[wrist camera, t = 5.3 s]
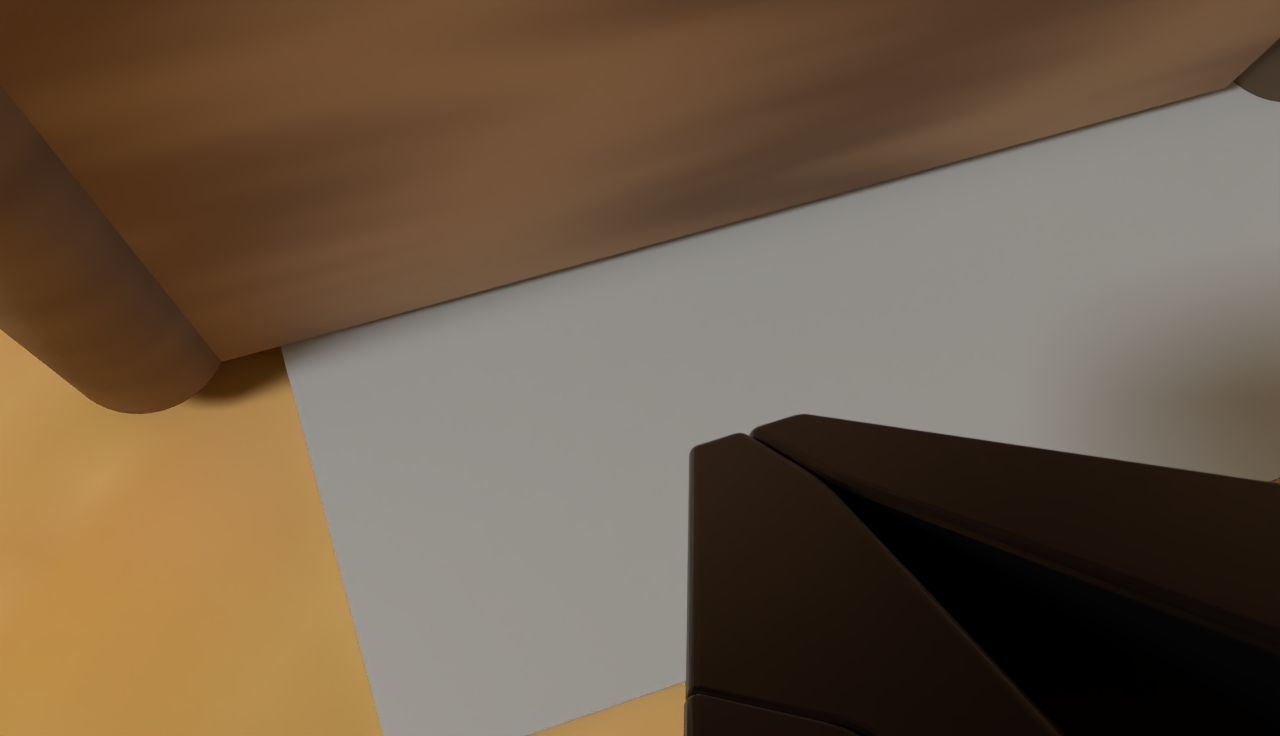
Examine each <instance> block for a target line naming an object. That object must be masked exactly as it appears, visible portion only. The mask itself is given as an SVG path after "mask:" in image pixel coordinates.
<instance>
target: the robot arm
mask: <svg viewBox="0 0 1280 736" xmlns="http://www.w3.org/2000/svg"><path fill="white" fill-rule="evenodd" d="M684 736H1280V483H1274V482H1268V481H1261V480H1254V479H1247V478H1240V477H1234V476H1227V475H1220V474H1213V473H1206V472H1199V471H1193V470H1186V469H1179V468H1172V467H1165V466H1158V465H1152V464H1145V463H1138V462H1131V461H1124V460H1118V459H1111V458H1104V457H1097V456H1090V455H1083V454H1077V453H1070V452H1063V451H1056V450H1049V449H1043V448H1036V447H1029V446H1022V445H1015V444H1008V443H1002V442H995V441H988V440H981V439H974V438H968V437H961V436H954V435H947V434H940V433H933V432H927V431H920V430H913V429H906V428H899V427H893V426H886V425H879V424H872V423H865V422H858V421H852V420H845V419H838V418H831V417H824V416H818V415H811V414H798V415H793V416H790V417H787V418H783V419H780V420H777V421H774V422H770V423H767V424H764V425H761V426H758V427H756V428H754V429H753V430H752V431H751V432H750V434H749V435H747V434H745V433H735V434H732V435H728V436H725V437H722V438H719V439H715V440H712V441H709V442H706V443H703V444H699V445H696V446H695V447H693V448H692V449H691V451H690V454H689V493H688V563H687V634H686V702H685V705H684Z"/></svg>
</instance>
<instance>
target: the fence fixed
mask: <svg viewBox="0 0 1280 736" xmlns="http://www.w3.org/2000/svg"><path fill="white" fill-rule="evenodd" d="M1233 82H1235V83H1236V84H1237V85H1238V86H1240V87H1241V88H1243V89H1244V90H1246V91H1247V92H1249V93H1251V94H1253V95H1255V96H1258V97H1260V98H1263V99H1266V100H1270V101H1275V102H1280V38H1279V39H1278V40H1277V41H1276V42H1275V43H1274V44H1273V45H1272V46H1271V47H1269V48H1268V49H1267V50H1266V51H1265V52H1264V53H1263V54H1262V55H1261V56H1260V57H1259V58H1258V59H1256V60H1255V61H1254V62H1253V63H1252V64H1251V65H1250V66H1249V67H1248V68H1247V69H1246V70H1245V71H1243V72H1242V73H1241V74H1240V75H1239V76H1238V77H1237V78H1236V79H1235V80H1234V81H1233Z"/></svg>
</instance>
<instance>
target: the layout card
mask: <svg viewBox="0 0 1280 736" xmlns="http://www.w3.org/2000/svg"><path fill="white" fill-rule="evenodd" d="M280 347H281V351H282V355H283V358H284V362H285V366H286V370H287V374H288V377H289V381H290V385H291V389H292V393H293V396H294V400H295V404H296V408H297V411H298V415H299V419H300V423H301V427H302V430H303V434H304V438H305V442H306V446H307V449H308V453H309V457H310V461H311V465H312V468H313V472H314V476H315V480H316V484H317V487H318V491H319V495H320V499H321V503H322V506H323V510H324V514H325V518H326V522H327V525H328V529H329V533H330V537H331V541H332V544H333V548H334V552H335V556H336V559H337V563H338V567H339V571H340V575H341V578H342V582H343V586H344V590H345V594H346V597H347V601H348V605H349V609H350V613H351V616H352V620H353V624H354V628H355V632H356V635H357V639H358V643H359V647H360V651H361V654H362V658H363V662H364V666H365V670H366V673H367V677H368V681H369V685H370V689H371V692H372V696H373V700H374V704H375V707H376V711H377V715H378V719H379V723H380V726H381V730H382V734H383V736H526V735H529V734H532V733H535V732H538V731H541V730H544V729H547V728H550V727H553V726H556V725H559V724H562V723H565V722H567V721H570V720H573V719H576V718H579V717H582V716H585V715H588V714H591V713H594V712H597V711H600V710H603V709H605V708H608V707H611V706H614V705H617V704H620V703H623V702H626V701H629V700H632V699H635V698H638V697H641V696H643V695H646V694H649V693H652V692H655V691H658V690H661V689H664V688H667V687H670V686H673V685H676V684H679V683H681V682H684V681H686V634H687V563H688V493H689V454H690V451H691V449H692V448H693V447H695V446H696V445H699V444H703V443H706V442H709V441H712V440H715V439H719V438H722V437H725V436H728V435H732V434H735V433H745V434H747V435H749V434H750V432H751V431H752V430H753V429H754V428H756V427H758V426H761V425H764V424H767V423H770V422H774V421H777V420H780V419H783V418H787V417H790V416H793V415H798V414H811V415H818V416H824V417H831V418H838V419H845V420H852V421H858V422H865V423H872V424H879V425H886V426H893V427H899V428H906V429H913V430H920V431H927V432H933V433H940V434H947V435H954V436H961V437H968V438H974V439H981V440H988V441H995V442H1002V443H1008V444H1015V445H1022V446H1029V447H1036V448H1043V449H1049V450H1056V451H1063V452H1070V453H1077V454H1083V455H1090V456H1097V457H1104V458H1111V459H1118V460H1124V461H1131V462H1138V463H1145V464H1152V465H1158V466H1165V467H1172V468H1179V469H1186V470H1193V471H1199V472H1206V473H1213V474H1220V475H1227V476H1234V477H1240V478H1247V479H1254V480H1261V481H1268V482H1269V481H1272V480H1275V479H1278V478H1280V102H1275V101H1270V100H1266V99H1263V98H1260V97H1258V96H1255V95H1253V94H1251V93H1249V92H1247V91H1246V90H1244V89H1243V88H1241V87H1240V86H1238V85H1237V84H1236V83H1235V82H1232V83H1230V84H1229V85H1228V86H1227V87H1226V88H1222V89H1218V90H1215V91H1211V92H1208V93H1204V94H1200V95H1197V96H1193V97H1189V98H1186V99H1182V100H1178V101H1175V102H1171V103H1167V104H1164V105H1160V106H1156V107H1153V108H1149V109H1145V110H1142V111H1138V112H1134V113H1131V114H1127V115H1123V116H1120V117H1116V118H1112V119H1109V120H1105V121H1101V122H1098V123H1094V124H1091V125H1087V126H1083V127H1080V128H1076V129H1072V130H1069V131H1065V132H1061V133H1058V134H1054V135H1050V136H1047V137H1043V138H1039V139H1036V140H1032V141H1028V142H1025V143H1021V144H1017V145H1014V146H1010V147H1006V148H1003V149H999V150H995V151H992V152H988V153H984V154H981V155H977V156H973V157H970V158H966V159H963V160H959V161H955V162H952V163H948V164H944V165H941V166H937V167H933V168H930V169H926V170H922V171H919V172H915V173H911V174H908V175H904V176H900V177H897V178H893V179H889V180H886V181H882V182H878V183H875V184H871V185H867V186H864V187H860V188H856V189H853V190H849V191H846V192H842V193H838V194H835V195H831V196H827V197H824V198H820V199H816V200H813V201H809V202H805V203H802V204H798V205H794V206H791V207H787V208H783V209H780V210H776V211H772V212H769V213H765V214H761V215H758V216H754V217H750V218H747V219H743V220H739V221H736V222H732V223H728V224H725V225H721V226H718V227H714V228H710V229H707V230H703V231H699V232H696V233H692V234H688V235H685V236H681V237H677V238H674V239H670V240H666V241H663V242H659V243H655V244H652V245H648V246H644V247H641V248H637V249H633V250H630V251H626V252H622V253H619V254H615V255H611V256H608V257H604V258H601V259H597V260H593V261H590V262H586V263H582V264H579V265H575V266H571V267H568V268H564V269H560V270H557V271H553V272H549V273H546V274H542V275H538V276H535V277H531V278H527V279H524V280H520V281H516V282H513V283H509V284H505V285H502V286H498V287H494V288H491V289H487V290H483V291H480V292H476V293H473V294H469V295H465V296H462V297H458V298H454V299H451V300H447V301H443V302H440V303H436V304H432V305H429V306H425V307H421V308H418V309H414V310H410V311H407V312H403V313H399V314H396V315H392V316H388V317H385V318H381V319H377V320H374V321H370V322H366V323H363V324H359V325H356V326H352V327H348V328H345V329H341V330H337V331H334V332H330V333H326V334H323V335H319V336H315V337H312V338H308V339H304V340H301V341H297V342H293V343H290V344H286V345H282V346H280Z"/></svg>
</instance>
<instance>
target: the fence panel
mask: <svg viewBox="0 0 1280 736" xmlns="http://www.w3.org/2000/svg"><path fill="white" fill-rule="evenodd" d="M1279 38H1280V0H0V329H1V330H2V331H4V332H5V333H6V334H7V335H9V336H10V337H11V338H12V339H14V340H15V341H16V342H18V343H19V344H20V345H21V346H23V347H24V348H25V349H27V350H28V351H29V352H30V353H32V354H33V355H34V356H35V357H37V358H38V359H39V360H41V361H42V362H43V363H44V364H46V365H47V366H48V367H49V368H51V369H52V370H53V371H55V372H56V373H57V374H58V375H60V376H61V377H62V378H63V379H65V380H66V381H67V382H69V383H70V384H71V385H72V386H74V387H75V388H76V389H77V390H79V391H80V392H81V393H83V394H84V395H85V396H86V397H88V398H89V399H90V400H92V401H94V402H95V403H97V404H99V405H101V406H103V407H105V408H108V409H111V410H114V411H118V412H123V413H130V414H144V413H153V412H158V411H162V410H166V409H168V408H171V407H174V406H176V405H178V404H180V403H182V402H184V401H186V400H188V399H189V398H191V397H192V396H194V395H195V394H196V393H197V392H199V391H200V390H201V389H202V388H203V387H204V386H205V385H206V384H207V383H208V382H209V381H210V380H211V378H212V377H213V376H214V374H215V373H216V371H217V370H218V368H219V366H220V364H221V362H224V361H228V360H231V359H235V358H238V357H242V356H246V355H249V354H253V353H257V352H260V351H264V350H268V349H271V348H275V347H279V346H282V345H286V344H290V343H293V342H297V341H301V340H304V339H308V338H312V337H315V336H319V335H323V334H326V333H330V332H334V331H337V330H341V329H345V328H348V327H352V326H356V325H359V324H363V323H366V322H370V321H374V320H377V319H381V318H385V317H388V316H392V315H396V314H399V313H403V312H407V311H410V310H414V309H418V308H421V307H425V306H429V305H432V304H436V303H440V302H443V301H447V300H451V299H454V298H458V297H462V296H465V295H469V294H473V293H476V292H480V291H483V290H487V289H491V288H494V287H498V286H502V285H505V284H509V283H513V282H516V281H520V280H524V279H527V278H531V277H535V276H538V275H542V274H546V273H549V272H553V271H557V270H560V269H564V268H568V267H571V266H575V265H579V264H582V263H586V262H590V261H593V260H597V259H601V258H604V257H608V256H611V255H615V254H619V253H622V252H626V251H630V250H633V249H637V248H641V247H644V246H648V245H652V244H655V243H659V242H663V241H666V240H670V239H674V238H677V237H681V236H685V235H688V234H692V233H696V232H699V231H703V230H707V229H710V228H714V227H718V226H721V225H725V224H728V223H732V222H736V221H739V220H743V219H747V218H750V217H754V216H758V215H761V214H765V213H769V212H772V211H776V210H780V209H783V208H787V207H791V206H794V205H798V204H802V203H805V202H809V201H813V200H816V199H820V198H824V197H827V196H831V195H835V194H838V193H842V192H846V191H849V190H853V189H856V188H860V187H864V186H867V185H871V184H875V183H878V182H882V181H886V180H889V179H893V178H897V177H900V176H904V175H908V174H911V173H915V172H919V171H922V170H926V169H930V168H933V167H937V166H941V165H944V164H948V163H952V162H955V161H959V160H963V159H966V158H970V157H973V156H977V155H981V154H984V153H988V152H992V151H995V150H999V149H1003V148H1006V147H1010V146H1014V145H1017V144H1021V143H1025V142H1028V141H1032V140H1036V139H1039V138H1043V137H1047V136H1050V135H1054V134H1058V133H1061V132H1065V131H1069V130H1072V129H1076V128H1080V127H1083V126H1087V125H1091V124H1094V123H1098V122H1101V121H1105V120H1109V119H1112V118H1116V117H1120V116H1123V115H1127V114H1131V113H1134V112H1138V111H1142V110H1145V109H1149V108H1153V107H1156V106H1160V105H1164V104H1167V103H1171V102H1175V101H1178V100H1182V99H1186V98H1189V97H1193V96H1197V95H1200V94H1204V93H1208V92H1211V91H1215V90H1218V89H1222V88H1226V87H1227V86H1228V85H1229V84H1230V83H1232V82H1233V81H1234V80H1235V79H1236V78H1237V77H1238V76H1239V75H1240V74H1241V73H1242V72H1243V71H1245V70H1246V69H1247V68H1248V67H1249V66H1250V65H1251V64H1252V63H1253V62H1254V61H1255V60H1256V59H1258V58H1259V57H1260V56H1261V55H1262V54H1263V53H1264V52H1265V51H1266V50H1267V49H1268V48H1269V47H1271V46H1272V45H1273V44H1274V43H1275V42H1276V41H1277V40H1278V39H1279Z"/></svg>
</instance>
